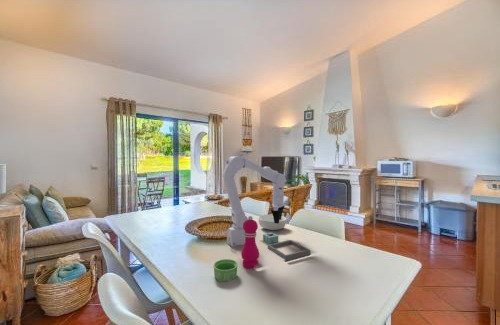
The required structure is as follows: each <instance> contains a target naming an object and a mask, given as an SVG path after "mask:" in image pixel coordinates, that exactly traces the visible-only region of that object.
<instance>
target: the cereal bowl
mask: <svg viewBox="0 0 500 325" xmlns="http://www.w3.org/2000/svg"><path fill="white" fill-rule="evenodd" d="M286 224H287V218H286V217H285V216H283V215H282V217H281V220H279V223H274V218H273V214H263V215H259V216H258V225H259V227H261V228H263V229H265V230H268V231H278V230H281V229H284V228H285V227H286Z"/></svg>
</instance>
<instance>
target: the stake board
mask: <svg viewBox="0 0 500 325" xmlns="http://www.w3.org/2000/svg"><path fill="white" fill-rule="evenodd" d="M270 233H271V234H268V235H269V236H272V235H273V234H274V233H273V232H270ZM272 233H273V234H272ZM259 242H261V243H263V244H264V245H266V246H267V247H268V245H269V244H268V243H265V242H264V241H263V239H260V240H259ZM279 242H280V241H279V240H278V243H279Z"/></svg>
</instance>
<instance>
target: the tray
mask: <svg viewBox="0 0 500 325" xmlns="http://www.w3.org/2000/svg"><path fill="white" fill-rule="evenodd" d="M288 245H292V246H293V247H295V248H297V249H299V251H296V252H291V253H288V254H285V253H284V252H282V251H281V250H279V249H277V248H279V247H283V246H284V247H285V246H288ZM267 249H268V250H269V251H271V252H272V253H274V254H276V256H279V257H280V258H282V259H283V262H285V263H288V262H291V261H296V260H299V259H302V258H306V257H309V256H310V255H311V249H309V248H307V247H305V246H303V245H301V244H299V243H297V242H295V241H294V240H291V239H290V240H285V241H279V243H274V244H270V245H268V246H267Z"/></svg>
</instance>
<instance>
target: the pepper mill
mask: <svg viewBox="0 0 500 325" xmlns="http://www.w3.org/2000/svg"><path fill="white" fill-rule="evenodd" d="M247 218H248V220H246V221H245V222H244V223H243V229H244V231H245V232H244V236H245V244H244V245H243V247H242V249H241V255H240V256H241V258H242V267H243V268H246V269H251V270H252V269H256V266H257V265H258V263H259V260H258V259H259V257H260V252H259V251H260V250H259V248H258V245H257V243H256V237H257V230H258V228H259V226H258V225H259V224H258V223H257V222H258V221H256V220H254V219H253V216H251V215H248V216H247Z"/></svg>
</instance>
